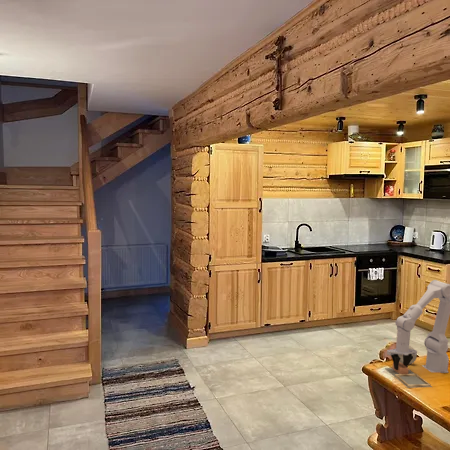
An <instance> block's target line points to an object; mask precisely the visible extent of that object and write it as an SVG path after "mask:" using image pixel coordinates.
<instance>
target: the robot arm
mask: <svg viewBox="0 0 450 450" xmlns="http://www.w3.org/2000/svg"><path fill="white" fill-rule="evenodd" d="M426 288H427V289H426V291H425V292H424V294H423V295H422V296H421V298H420V299H419V300H418V301H417V303H416V304H412V305H410V306H409V307H408V309H407V310H406V311H405V313H404V314H403V315H401V316H398V317H397V318H396V320H395V321H394V323H395V324H394V325H395V326H396V330H397V332H396V340H395V341H396V344H395V348H393V349H387V350H386V355H387V356H390V357H391V359H392V364H393V363H394V369H396V370H398V366H399V361H400V359H401V358H400V357H399V356H398V355H403V363H402V364H403V365H405V366H406V367H407V368H408V367H409V366H410V364H409V363H410V361H411V360H412V359H413V356H412V355H413V354H414V355H417V354H418V351H417V350H416V349H414V350H411V349H409V346H410V341H411V332H412V330H413V329H414V328H415V324H416V321H417V320H418V319H419V318H420V317H421V315H422V314H423V312H424V311H423V310H424V309H425V308H426V306H427V305H429V303H431V302H432V300H434V299H438V300H439V303H438V304H439V305H438V308H437V312H436V315H435V320H434V323H433V328H432V331H429V332H428V333H427V336H426V338H425V339H424V342H423V344H424V347H425V348H426V349H425V350H426V359H425V360H426V361H425V364H424V365H421V366H422V367H423V368H424V369H426V370H427V371H429V372H430V373H441V374H444V373H445V374H446V373H449V370H448V369H449V356H448V354H447V352H448V349H449V344H448V343H449V339H448V338H447V335H446V331H447V328H448V323H449V319H450V283H446V282H442V281H440V280H437V279H433V280H431V281H430V282H429V284H427V287H426Z"/></svg>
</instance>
